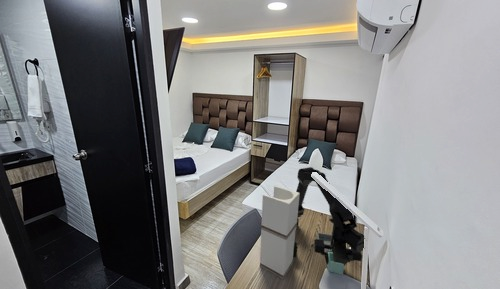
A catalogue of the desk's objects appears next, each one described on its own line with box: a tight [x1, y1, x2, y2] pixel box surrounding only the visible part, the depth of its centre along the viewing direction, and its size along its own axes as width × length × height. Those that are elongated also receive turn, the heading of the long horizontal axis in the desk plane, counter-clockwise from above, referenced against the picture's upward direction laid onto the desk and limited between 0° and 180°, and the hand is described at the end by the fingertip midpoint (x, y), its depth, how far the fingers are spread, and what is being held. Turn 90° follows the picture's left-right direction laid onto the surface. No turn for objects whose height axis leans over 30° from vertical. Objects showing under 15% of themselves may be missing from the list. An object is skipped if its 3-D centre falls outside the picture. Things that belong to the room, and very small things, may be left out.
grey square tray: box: [316, 231, 333, 253], centre depth 103 cm, size 10×10×3 cm
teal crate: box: [326, 252, 345, 275], centre depth 89 cm, size 6×6×5 cm
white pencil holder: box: [259, 185, 300, 280], centre depth 86 cm, size 11×11×35 cm
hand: (334, 265), depth 90 cm, fingers closed on teal crate, 6 cm apart
